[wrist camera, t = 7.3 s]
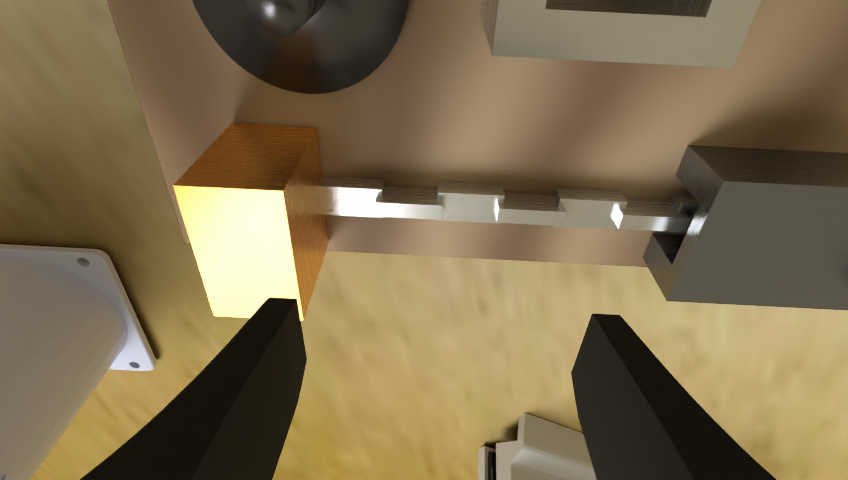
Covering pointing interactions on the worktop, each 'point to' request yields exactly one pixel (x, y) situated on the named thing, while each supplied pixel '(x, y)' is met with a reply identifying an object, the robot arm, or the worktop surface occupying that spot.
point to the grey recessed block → (620, 30)
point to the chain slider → (347, 212)
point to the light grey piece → (538, 454)
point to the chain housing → (759, 230)
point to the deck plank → (500, 118)
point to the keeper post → (305, 39)
